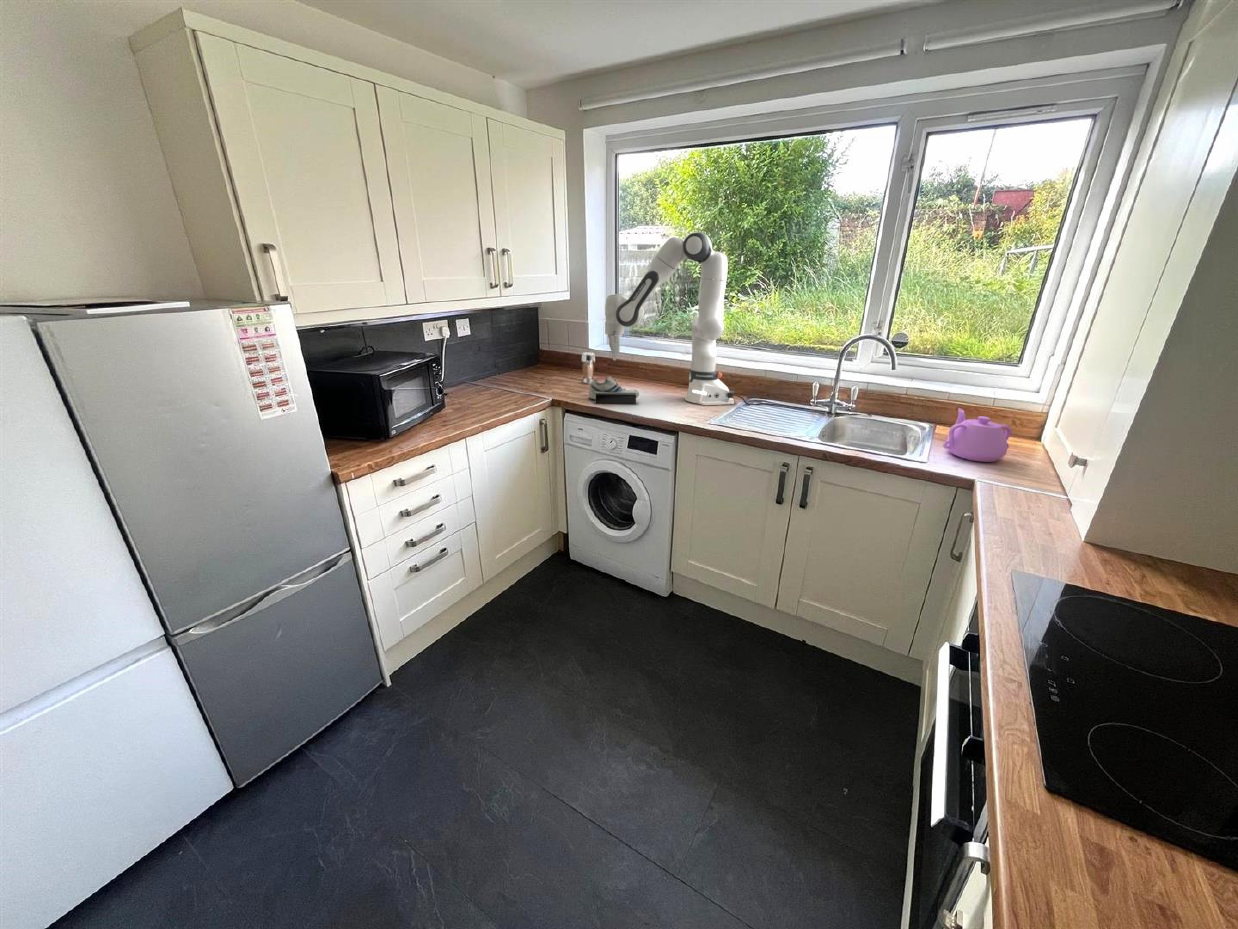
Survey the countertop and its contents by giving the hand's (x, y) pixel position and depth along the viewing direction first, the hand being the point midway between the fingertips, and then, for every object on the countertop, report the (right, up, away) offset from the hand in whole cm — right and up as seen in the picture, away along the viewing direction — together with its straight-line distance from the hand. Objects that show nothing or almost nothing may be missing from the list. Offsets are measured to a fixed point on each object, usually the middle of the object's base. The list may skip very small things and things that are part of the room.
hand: (614, 359), depth 239 cm
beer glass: (-14, -7, +22) cm, 27 cm away
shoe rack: (+1, -23, -17) cm, 28 cm away
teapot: (+123, -47, -66) cm, 147 cm away
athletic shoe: (0, -21, -11) cm, 23 cm away
